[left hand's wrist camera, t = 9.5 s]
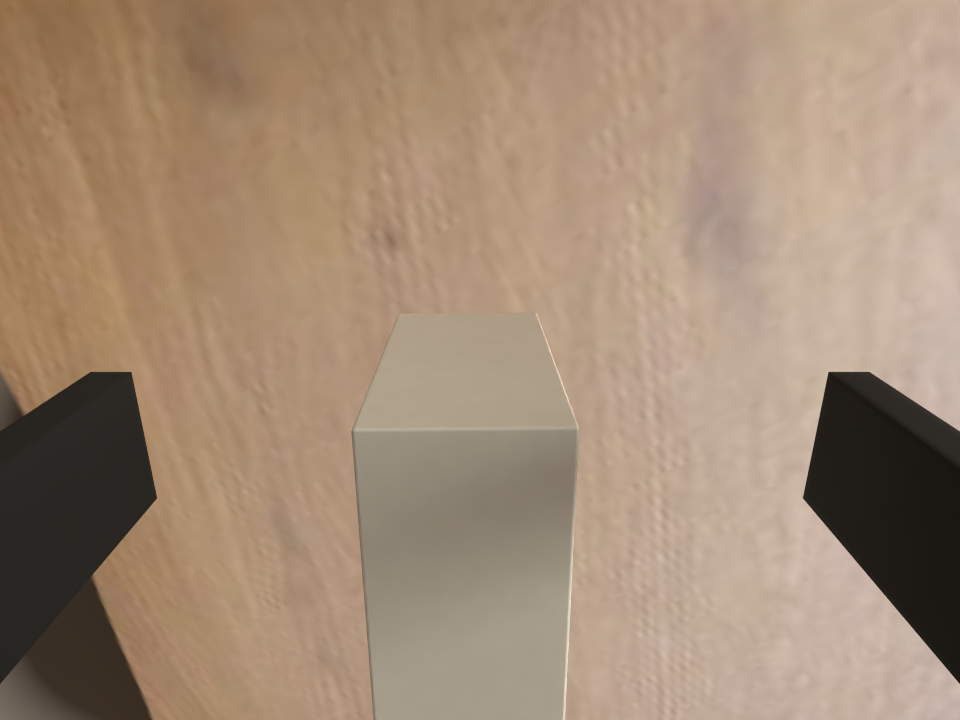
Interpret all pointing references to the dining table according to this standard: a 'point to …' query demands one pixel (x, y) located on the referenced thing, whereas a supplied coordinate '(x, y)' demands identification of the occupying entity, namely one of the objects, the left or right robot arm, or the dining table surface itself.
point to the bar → (467, 520)
